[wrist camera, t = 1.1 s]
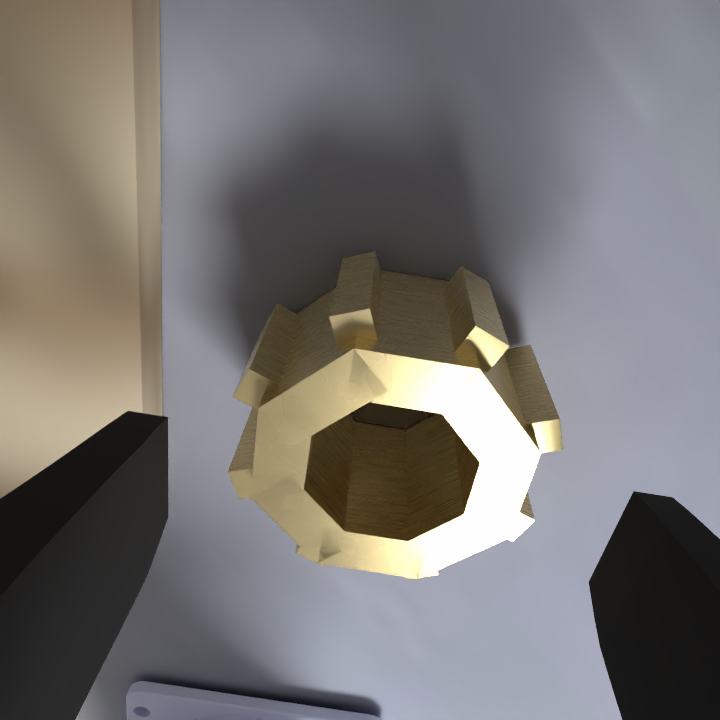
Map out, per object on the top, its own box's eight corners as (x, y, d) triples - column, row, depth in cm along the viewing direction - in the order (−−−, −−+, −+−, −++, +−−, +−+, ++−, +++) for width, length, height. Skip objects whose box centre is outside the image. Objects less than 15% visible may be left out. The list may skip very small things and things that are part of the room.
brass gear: (487, 491, 15) (508, 611, 12) (254, 454, 15) (217, 567, 12) (559, 274, 12) (611, 360, 9) (274, 226, 12) (232, 297, 9)
